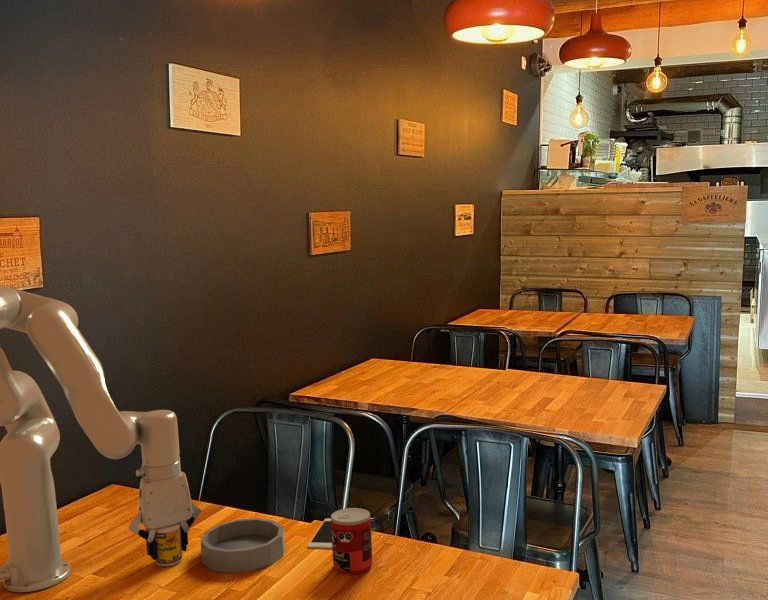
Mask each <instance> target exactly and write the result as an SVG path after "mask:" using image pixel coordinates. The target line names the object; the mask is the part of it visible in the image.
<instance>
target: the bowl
mask: <svg viewBox="0 0 768 600" xmlns="http://www.w3.org/2000/svg"><path fill="white" fill-rule="evenodd" d="M284 530H285V529H284V526H283V525H282V524H280V523H279V522H277V521H275V520H272V519H267V518H259V517H252V518H239V519H238V518H237V519H233V520H230V521H225V522H223V523H218V524H216V525H214V526H213V527H211V528H209V529H208V530H206V531H205V532H204V533H203V535H202V538H201V540H200V549H201V550H200V551H201V562H202V564H203V565H204V566H206V567H207V568H208V569H209V571H216V572H219V573H220V572H221V573H226V574H236V573H248V572H249V573H250V572H253V571H257V570H260V569H264V568H267V567H269V566H272V565H273V564H275V563H277V561H279V560H280V559H281V558H282V557H284V556H285V555H284V553H285V546H286V545H285V531H284Z"/></svg>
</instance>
